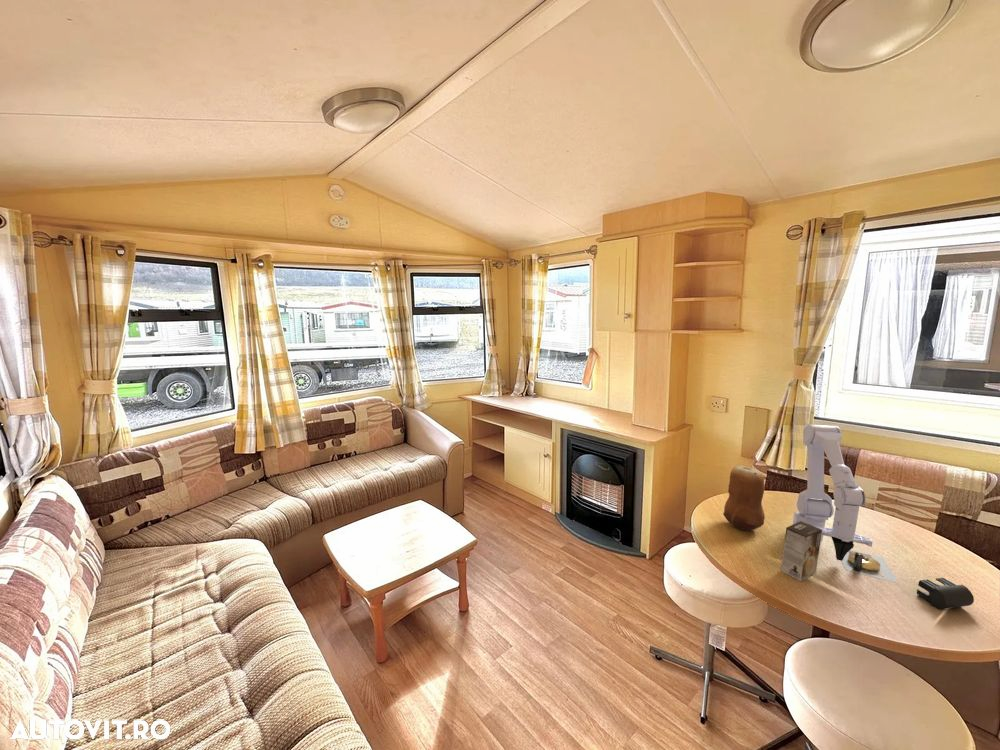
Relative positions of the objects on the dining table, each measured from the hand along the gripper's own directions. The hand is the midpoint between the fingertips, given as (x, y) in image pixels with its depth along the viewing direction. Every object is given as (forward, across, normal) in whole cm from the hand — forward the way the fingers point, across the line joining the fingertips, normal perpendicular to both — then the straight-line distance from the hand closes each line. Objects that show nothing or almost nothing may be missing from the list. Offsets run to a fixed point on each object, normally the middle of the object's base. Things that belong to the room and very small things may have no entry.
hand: (839, 558), depth 134 cm
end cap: (+4, +23, -6) cm, 24 cm away
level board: (+3, +8, +6) cm, 10 cm away
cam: (+2, +7, +4) cm, 8 cm away
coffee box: (+4, -12, -9) cm, 16 cm away
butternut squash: (+4, -28, +13) cm, 31 cm away
